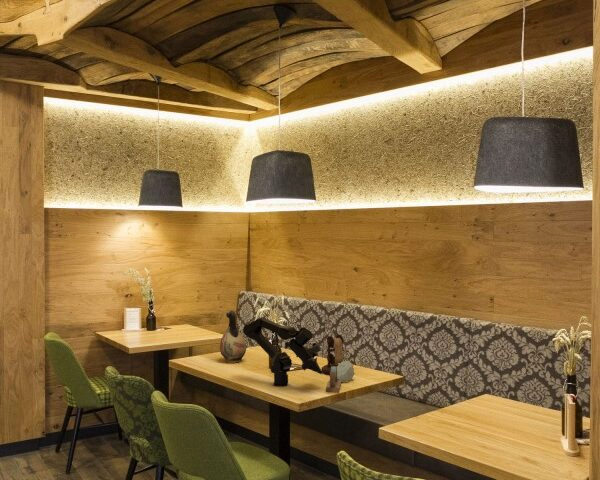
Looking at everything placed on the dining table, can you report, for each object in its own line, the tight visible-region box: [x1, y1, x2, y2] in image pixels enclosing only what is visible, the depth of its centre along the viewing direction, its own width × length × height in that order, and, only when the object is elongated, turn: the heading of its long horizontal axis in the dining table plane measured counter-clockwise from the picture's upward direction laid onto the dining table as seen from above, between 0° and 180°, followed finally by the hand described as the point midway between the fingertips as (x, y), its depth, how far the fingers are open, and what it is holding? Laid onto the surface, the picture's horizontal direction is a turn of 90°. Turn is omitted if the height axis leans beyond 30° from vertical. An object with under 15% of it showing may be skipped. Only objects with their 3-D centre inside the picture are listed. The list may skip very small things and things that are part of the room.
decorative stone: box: [337, 360, 355, 383], centre depth 308 cm, size 13×11×10 cm
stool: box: [325, 366, 342, 394], centre depth 291 cm, size 6×14×10 cm, turn 171°
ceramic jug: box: [219, 310, 247, 364], centre depth 355 cm, size 17×15×30 cm
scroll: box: [320, 334, 344, 374], centre depth 326 cm, size 15×15×20 cm
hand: (321, 373), depth 293 cm, fingers closed
